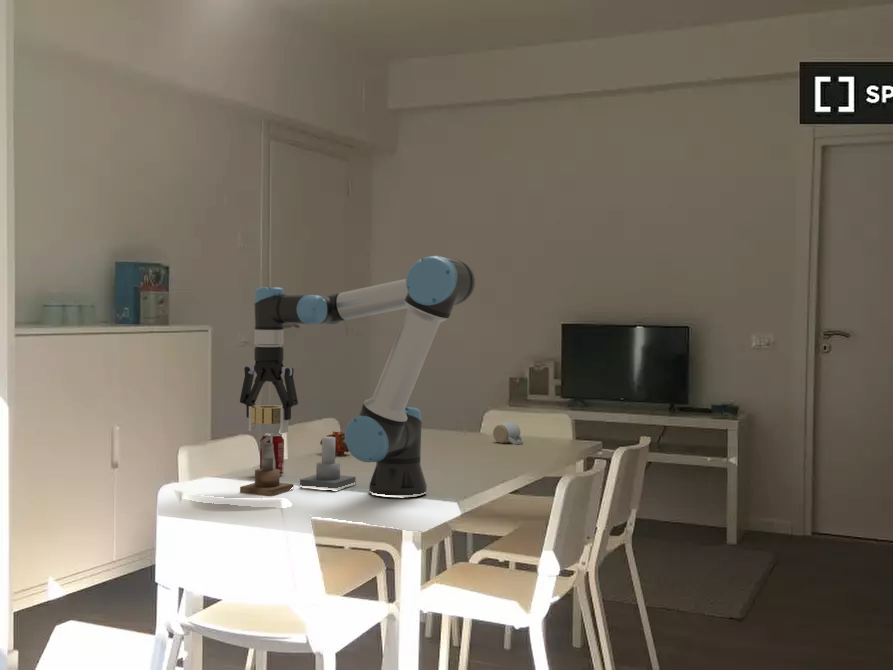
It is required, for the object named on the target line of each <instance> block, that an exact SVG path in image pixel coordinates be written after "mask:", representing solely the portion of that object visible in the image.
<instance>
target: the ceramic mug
mask: <svg viewBox="0 0 893 670" xmlns="http://www.w3.org/2000/svg"><path fill="white" fill-rule="evenodd" d="M492 435H493V439H494V440H495V441H496V442H497V443H498V444H510V443H511V444H514V445H517V446H518V445H522V444H523V441H524V439H523V437H522V436H521V428H520V426H519V424H518V423H516V422H515V421H506V422H503V423H499V424H498V425H496V426H495V427H494V428H493V433H492Z"/></svg>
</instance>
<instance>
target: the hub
mask: <svg viewBox="0 0 893 670" xmlns="http://www.w3.org/2000/svg"><path fill="white" fill-rule="evenodd" d="M321 440H322V445H321V461H318V462H316V464H315V466H316V473H315V474H313V475H311V476H308V477H304V478H300V479H299V486H300V485H302V486H316V487H328V488H338V487H342V486H345V485H348V484H351V483H354V482H355V483H356V481H357V480H356V479H357V476H351V475H341V463H340V462H338V461H336V454H335V437H326V436H323V437H321Z"/></svg>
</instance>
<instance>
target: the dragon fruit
mask: <svg viewBox="0 0 893 670" xmlns="http://www.w3.org/2000/svg"><path fill="white" fill-rule="evenodd" d="M325 437H335V455H336V454H337V455H338V456H344V454H345V453H350V452H349V450H348V447H347V445H346V443H345V431H343V430H342V431H341V430H339V431H332V433H331V434H328V435H326V436H325ZM319 444H320V446H322V439H320V443H319Z"/></svg>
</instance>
